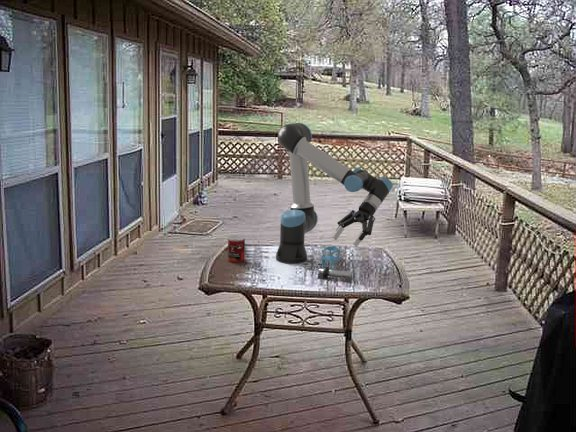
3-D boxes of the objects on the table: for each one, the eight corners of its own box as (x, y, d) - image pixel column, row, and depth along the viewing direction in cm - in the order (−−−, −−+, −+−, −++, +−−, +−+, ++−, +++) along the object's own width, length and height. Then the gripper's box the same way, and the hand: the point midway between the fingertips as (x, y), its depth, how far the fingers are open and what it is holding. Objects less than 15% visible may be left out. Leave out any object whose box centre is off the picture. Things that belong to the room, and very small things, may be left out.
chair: (317, 272, 281) (318, 247, 278) (329, 269, 287) (330, 244, 284) (330, 276, 276) (331, 250, 273) (342, 272, 282) (343, 247, 279)
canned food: (224, 261, 293) (225, 238, 291) (232, 257, 300) (233, 235, 298) (239, 263, 290) (240, 240, 288) (247, 259, 297) (247, 237, 295)
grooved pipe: (317, 278, 272) (318, 267, 271) (320, 275, 277) (320, 265, 276) (350, 282, 268) (350, 271, 267) (351, 279, 273) (352, 268, 272)
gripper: (393, 216, 281) (367, 252, 275) (354, 206, 300) (330, 240, 294) (385, 205, 276) (359, 242, 270) (347, 196, 295) (322, 231, 290)
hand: (344, 241), depth 282 cm, fingers open, 13 cm apart
